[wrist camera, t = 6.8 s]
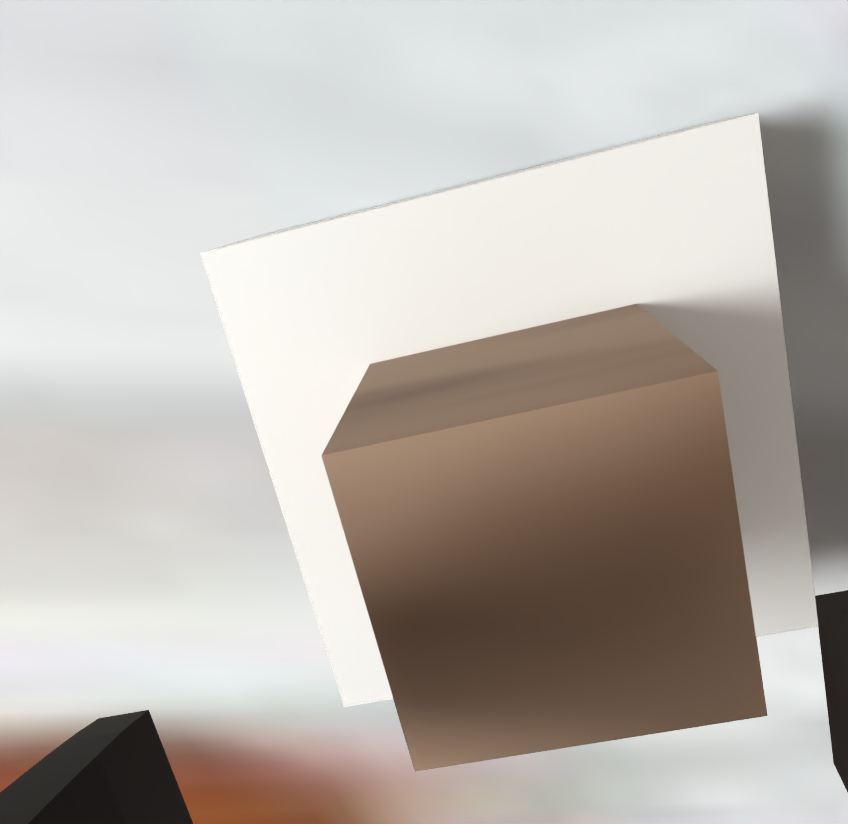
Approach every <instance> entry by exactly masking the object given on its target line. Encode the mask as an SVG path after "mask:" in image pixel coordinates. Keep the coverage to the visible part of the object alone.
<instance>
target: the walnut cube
mask: <svg viewBox="0 0 848 824" xmlns="http://www.w3.org/2000/svg"><path fill="white" fill-rule="evenodd" d="M321 456H322V459H323V463H324V466H325V470H326V473H327V476H328V480H329V483H330V486H331V490H332V493H333V497H334V500H335V503H336V507H337V510H338V513H339V517H340V520H341V524H342V527H343V530H344V534H345V537H346V540H347V544H348V547H349V551H350V554H351V557H352V561H353V564H354V567H355V571H356V574H357V578H358V581H359V584H360V588H361V591H362V594H363V598H364V601H365V605H366V608H367V611H368V615H369V618H370V621H371V625H372V628H373V632H374V635H375V638H376V642H377V645H378V648H379V652H380V655H381V659H382V662H383V665H384V669H385V672H386V675H387V679H388V682H389V686H390V689H391V692H392V696H393V699H394V702H395V706H396V709H397V713H398V716H399V719H400V723H401V726H402V729H403V733H404V736H405V740H406V743H407V746H408V750H409V753H410V756H411V760H412V763H413V767H414V770H415V771H420V770H427V769H433V768H439V767H446V766H452V765H458V764H465V763H471V762H477V761H484V760H490V759H496V758H503V757H509V756H515V755H522V754H528V753H534V752H541V751H547V750H553V749H560V748H566V747H572V746H578V745H585V744H591V743H597V742H604V741H610V740H616V739H623V738H629V737H635V736H642V735H648V734H654V733H661V732H667V731H673V730H680V729H686V728H692V727H699V726H705V725H711V724H718V723H724V722H730V721H736V720H743V719H749V718H755V717H762V716H767V710H766V703H765V696H764V689H763V682H762V675H761V668H760V661H759V654H758V648H757V641H756V634H755V627H754V620H753V613H752V606H751V599H750V592H749V585H748V578H747V571H746V564H745V557H744V550H743V543H742V536H741V529H740V522H739V515H738V508H737V501H736V494H735V487H734V480H733V473H732V466H731V459H730V452H729V445H728V438H727V431H726V424H725V417H724V410H723V403H722V396H721V389H720V382H719V375H718V371H717V370H716V369H715V368H714V367H712V366H711V365H710V364H709V363H707V362H706V361H705V360H704V359H703V358H701V357H700V356H699V355H698V354H696V353H695V352H694V351H693V350H692V349H690V348H689V347H688V346H687V345H686V344H684V343H683V342H682V341H681V340H679V339H678V338H677V337H676V336H675V335H673V334H672V333H671V332H670V331H669V330H667V329H666V328H665V327H664V326H662V325H661V324H660V323H659V322H658V321H656V320H655V319H654V318H653V317H651V316H650V315H649V314H648V313H647V312H645V311H644V310H643V309H642V308H641V307H639V306H638V305H637V304H633V305H628V306H624V307H619V308H615V309H611V310H606V311H602V312H597V313H593V314H589V315H584V316H580V317H575V318H571V319H566V320H562V321H558V322H553V323H549V324H544V325H540V326H535V327H531V328H527V329H522V330H518V331H513V332H509V333H505V334H500V335H496V336H491V337H487V338H482V339H478V340H474V341H469V342H465V343H460V344H456V345H451V346H447V347H443V348H438V349H434V350H429V351H425V352H421V353H416V354H412V355H407V356H403V357H398V358H394V359H390V360H385V361H381V362H376V363H372V364H370V365H369V367H368V369H367V370H366V372H365V374H364V376H363V378H362V380H361V382H360V384H359V385H358V387H357V389H356V391H355V393H354V395H353V397H352V399H351V401H350V402H349V404H348V406H347V408H346V410H345V412H344V414H343V416H342V418H341V419H340V421H339V423H338V425H337V427H336V429H335V431H334V433H333V434H332V436H331V438H330V440H329V442H328V444H327V446H326V448H325V450H324V451H323V453H322V455H321Z"/></svg>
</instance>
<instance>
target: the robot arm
mask: <svg viewBox="0 0 848 824" xmlns="http://www.w3.org/2000/svg"><path fill="white" fill-rule="evenodd" d="M815 601H816V609H817V618H818V627H819V636H820V645H821V654H822V663H823V672H824V681H825V690H826V699H827V708H828V716H829V725H830V734H831V743H832V752H833V761H834V765H835V767H836V769H837V771H838V773H839V775H840V777H841V779H842V781H843V783H844V785H845V788H846V790H847V792H848V590H847V591H841V592H836V593H830V594H824V595H818V596H815ZM0 824H193V822H192V820H191V817H190V815H189V812H188V810H187V807H186V805H185V802H184V799H183V797H182V794H181V792H180V789H179V787H178V784H177V781H176V779H175V776H174V774H173V771H172V769H171V766H170V764H169V761H168V758H167V756H166V753H165V751H164V748H163V746H162V743H161V741H160V738H159V735H158V733H157V730H156V728H155V725H154V723H153V720H152V718H151V715H150V712H149V710H146V711H140V712H134V713H128V714H122V715H117V716H111V717H105V718H99V719H97V720H96V721H94V722H93V723H91V724H90V725H88V726H87V727H85V728H84V729H82V730H81V731H79V732H78V733H76V734H75V735H74V736H72V737H71V738H69V739H68V740H67V741H65V742H64V743H63V744H61V745H60V746H59V747H57V748H56V749H55V750H53V751H52V752H51V753H50V754H48V755H47V756H46V757H44V758H43V759H42V760H41V761H39V762H38V763H37V764H36V765H34V766H33V767H32V768H31V769H29V770H28V771H27V772H25V773H24V774H23V775H22V776H20V777H19V778H18V779H17V780H15V781H14V782H13V783H12V784H11V785H9V786H8V787H7V788H6V789H4V790H3V791H2V792H1V793H0Z"/></svg>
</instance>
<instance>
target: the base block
mask: <svg viewBox="0 0 848 824" xmlns="http://www.w3.org/2000/svg"><path fill="white" fill-rule="evenodd" d="M200 255H201V258H202V261H203V264H204V267H205V270H206V274H207V277H208V280H209V283H210V286H211V289H212V292H213V296H214V299H215V302H216V305H217V308H218V311H219V315H220V318H221V321H222V324H223V327H224V330H225V333H226V337H227V340H228V343H229V346H230V349H231V352H232V355H233V359H234V362H235V365H236V368H237V371H238V374H239V377H240V381H241V384H242V387H243V390H244V393H245V396H246V400H247V403H248V406H249V409H250V412H251V415H252V418H253V422H254V425H255V428H256V431H257V434H258V437H259V440H260V444H261V447H262V450H263V453H264V456H265V459H266V462H267V466H268V469H269V472H270V475H271V478H272V481H273V485H274V488H275V491H276V494H277V497H278V500H279V503H280V507H281V510H282V513H283V516H284V519H285V522H286V525H287V529H288V532H289V535H290V538H291V541H292V544H293V547H294V551H295V554H296V557H297V560H298V563H299V566H300V570H301V573H302V576H303V579H304V582H305V585H306V588H307V592H308V595H309V598H310V601H311V604H312V607H313V610H314V614H315V617H316V620H317V623H318V626H319V629H320V632H321V636H322V639H323V642H324V645H325V648H326V651H327V654H328V658H329V661H330V664H331V667H332V670H333V673H334V677H335V680H336V683H337V686H338V689H339V692H340V695H341V699H342V702H343V705H344V707H348V706H354V705H360V704H366V703H372V702H378V701H383V700H389V699H393V696H392V692H391V689H390V686H389V682H388V679H387V675H386V672H385V669H384V665H383V662H382V659H381V655H380V652H379V648H378V645H377V642H376V638H375V635H374V632H373V628H372V625H371V621H370V618H369V615H368V611H367V608H366V605H365V601H364V598H363V594H362V591H361V588H360V584H359V581H358V578H357V574H356V571H355V567H354V564H353V561H352V557H351V554H350V551H349V547H348V544H347V540H346V537H345V534H344V530H343V527H342V524H341V520H340V517H339V513H338V510H337V507H336V503H335V500H334V497H333V493H332V490H331V486H330V483H329V480H328V476H327V473H326V470H325V466H324V463H323V459H322V456H321V455H322V453H323V451H324V450H325V448H326V446H327V444H328V442H329V440H330V438H331V436H332V434H333V433H334V431H335V429H336V427H337V425H338V423H339V421H340V419H341V418H342V416H343V414H344V412H345V410H346V408H347V406H348V404H349V402H350V401H351V399H352V397H353V395H354V393H355V391H356V389H357V387H358V385H359V384H360V382H361V380H362V378H363V376H364V374H365V372H366V370H367V369H368V367H369V365H370V364H372V363H376V362H381V361H385V360H390V359H394V358H398V357H403V356H407V355H412V354H416V353H421V352H425V351H429V350H434V349H438V348H443V347H447V346H451V345H456V344H460V343H465V342H469V341H474V340H478V339H482V338H487V337H491V336H496V335H500V334H505V333H509V332H513V331H518V330H522V329H527V328H531V327H535V326H540V325H544V324H549V323H553V322H558V321H562V320H566V319H571V318H575V317H580V316H584V315H589V314H593V313H597V312H602V311H606V310H611V309H615V308H619V307H624V306H628V305H633V304H637V305H638V306H639V307H641V308H642V309H643V310H644V311H645V312H647V313H648V314H649V315H650V316H651V317H653V318H654V319H655V320H656V321H658V322H659V323H660V324H661V325H662V326H664V327H665V328H666V329H667V330H669V331H670V332H671V333H672V334H673V335H675V336H676V337H677V338H678V339H679V340H681V341H682V342H683V343H684V344H686V345H687V346H688V347H689V348H690V349H692V350H693V351H694V352H695V353H696V354H698V355H699V356H700V357H701V358H703V359H704V360H705V361H706V362H707V363H709V364H710V365H711V366H712V367H714V368H715V369H716V370H717V371H718V375H719V382H720V389H721V396H722V403H723V410H724V417H725V424H726V431H727V438H728V445H729V452H730V459H731V466H732V473H733V480H734V487H735V494H736V501H737V508H738V515H739V522H740V529H741V536H742V543H743V550H744V557H745V564H746V571H747V578H748V585H749V592H750V599H751V606H752V613H753V620H754V627H755V634H756V637H758V636H764V635H770V634H776V633H782V632H788V631H794V630H799V629H805V628H811V627H817V626H818V618H817V609H816V601H815V591H814V583H813V574H812V566H811V557H810V549H809V540H808V532H807V523H806V515H805V506H804V498H803V489H802V481H801V472H800V464H799V455H798V447H797V438H796V430H795V421H794V413H793V404H792V396H791V387H790V379H789V370H788V362H787V353H786V345H785V336H784V328H783V319H782V311H781V302H780V294H779V285H778V277H777V268H776V260H775V251H774V243H773V234H772V226H771V217H770V209H769V200H768V192H767V183H766V175H765V166H764V158H763V149H762V141H761V132H760V124H759V115H758V113H756V114H751V115H745V116H740V117H735V118H730V119H725V120H720V121H715V122H710V123H706V124H702V125H698V126H694V127H690V128H686V129H682V130H678V131H674V132H670V133H666V134H662V135H658V136H654V137H650V138H646V139H642V140H638V141H634V142H630V143H626V144H622V145H618V146H614V147H610V148H606V149H602V150H599V151H595V152H591V153H587V154H583V155H579V156H575V157H571V158H567V159H563V160H559V161H555V162H551V163H547V164H543V165H539V166H535V167H531V168H527V169H523V170H519V171H515V172H511V173H507V174H503V175H499V176H495V177H491V178H487V179H483V180H479V181H475V182H471V183H467V184H463V185H459V186H456V187H452V188H448V189H444V190H440V191H436V192H432V193H428V194H424V195H420V196H416V197H412V198H408V199H404V200H400V201H396V202H392V203H388V204H384V205H380V206H376V207H372V208H368V209H364V210H360V211H356V212H352V213H348V214H344V215H340V216H336V217H332V218H328V219H324V220H320V221H317V222H313V223H309V224H305V225H301V226H297V227H293V228H289V229H285V230H281V231H277V232H273V233H269V234H265V235H261V236H257V237H253V238H249V239H245V240H242V241H238V242H235V243H232V244H229V245H225V246H222V247H219V248H216V249H212V250H209V251H206V252H203V253H200Z"/></svg>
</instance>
